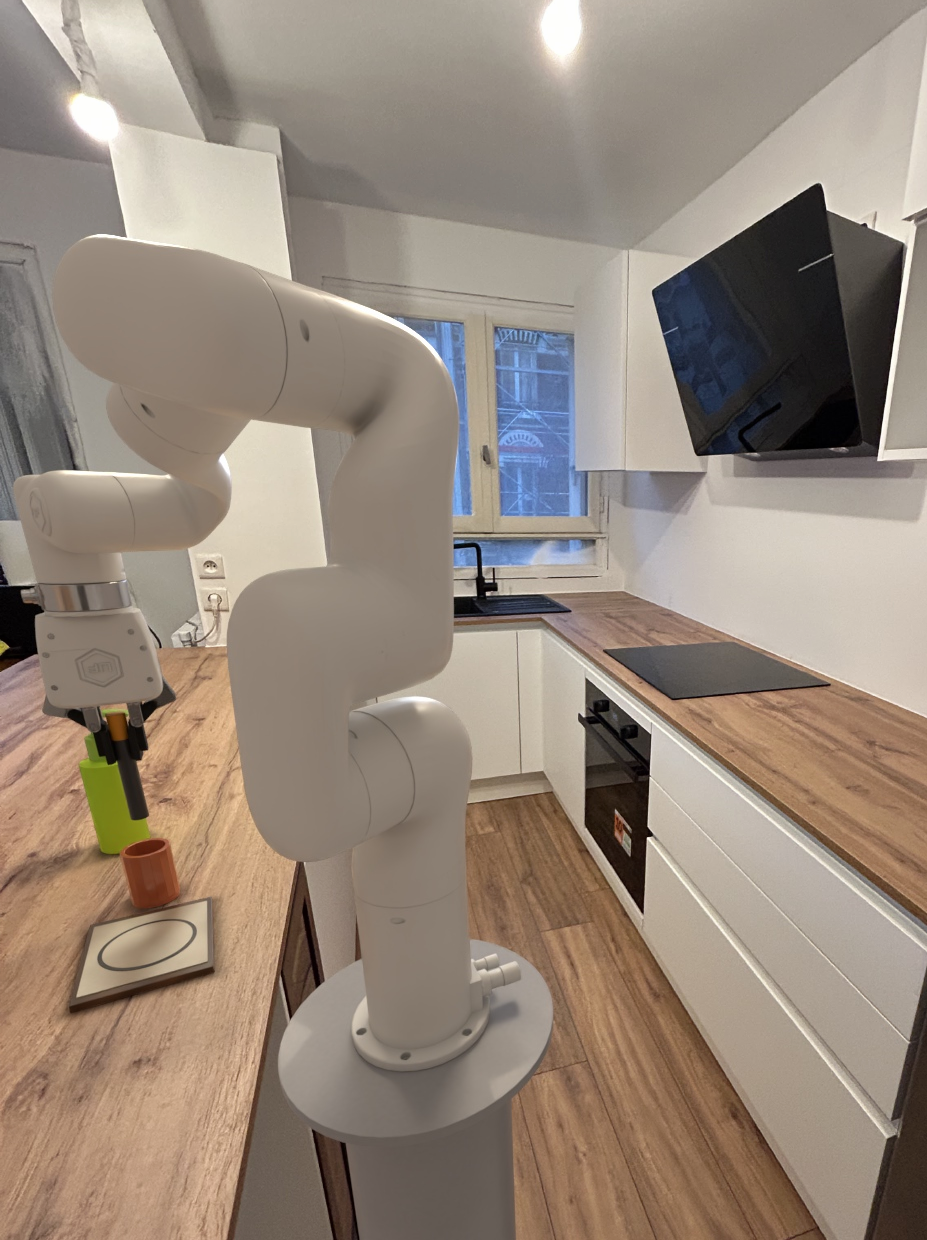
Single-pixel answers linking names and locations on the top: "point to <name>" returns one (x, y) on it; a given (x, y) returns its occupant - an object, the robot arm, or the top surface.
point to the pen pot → (150, 872)
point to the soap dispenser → (109, 800)
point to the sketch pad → (144, 953)
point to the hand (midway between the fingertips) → (125, 758)
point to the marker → (127, 765)
